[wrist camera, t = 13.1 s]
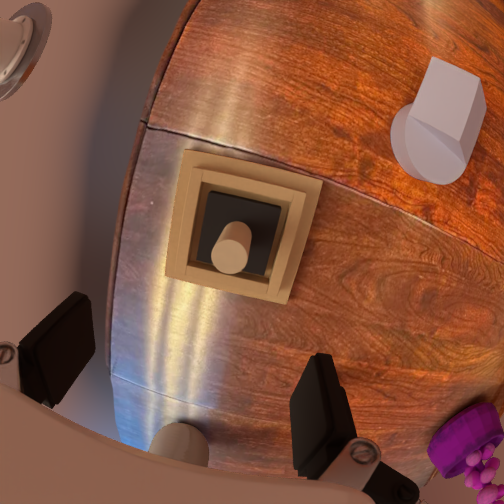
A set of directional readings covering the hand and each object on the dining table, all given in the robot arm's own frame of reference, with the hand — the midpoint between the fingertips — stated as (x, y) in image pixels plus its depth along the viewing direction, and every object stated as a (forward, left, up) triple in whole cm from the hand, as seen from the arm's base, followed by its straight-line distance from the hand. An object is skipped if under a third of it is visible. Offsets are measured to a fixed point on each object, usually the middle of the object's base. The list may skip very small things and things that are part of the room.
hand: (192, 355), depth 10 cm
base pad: (0, 0, -20) cm, 20 cm away
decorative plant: (+57, -31, -20) cm, 68 cm away
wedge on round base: (+18, +17, -20) cm, 32 cm away
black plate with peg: (0, 0, -19) cm, 19 cm away
